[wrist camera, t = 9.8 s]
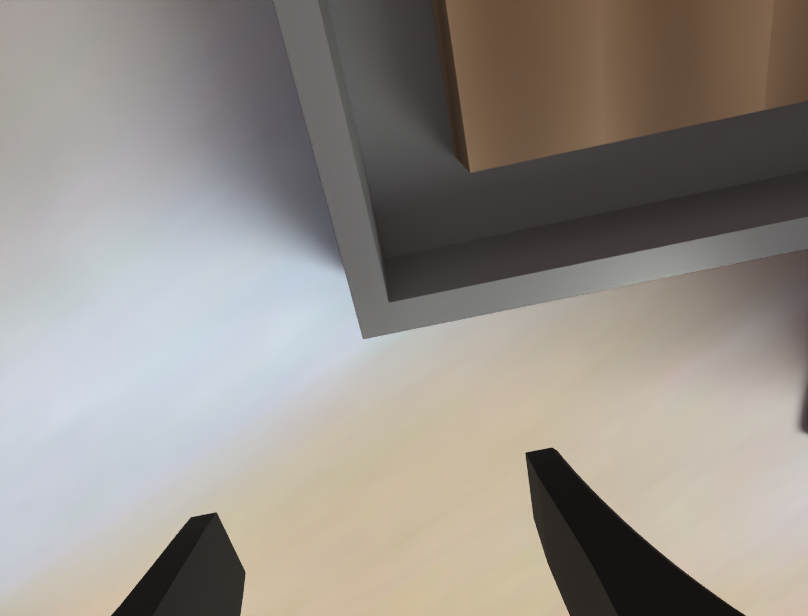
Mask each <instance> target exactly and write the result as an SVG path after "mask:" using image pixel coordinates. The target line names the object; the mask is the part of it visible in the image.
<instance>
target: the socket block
mask: <svg viewBox="0 0 808 616" xmlns="http://www.w3.org/2000/svg"><path fill="white" fill-rule="evenodd" d="M431 3H432V10H433V16H434V23H435V30H436V36H437V43H438V49H439V56H440V62H441V69H442V75H443V82H444V88H445V95H446V101H447V108H448V114H449V121H450V127H451V134H452V140H453V147H454V153H455V157H456V158H457V159H458V160H459V161H460V162H461V163H462V164H463V166H464V167H465V168H466V169H467V170H468V171H469V172H470V173H472V172H476V171H481V170H486V169H490V168H495V167H500V166H505V165H509V164H514V163H519V162H523V161H528V160H533V159H537V158H542V157H547V156H551V155H556V154H561V153H566V152H570V151H575V150H580V149H584V148H589V147H594V146H598V145H603V144H608V143H612V142H617V141H622V140H627V139H631V138H636V137H641V136H645V135H650V134H655V133H659V132H664V131H669V130H673V129H678V128H683V127H688V126H692V125H697V124H702V123H706V122H711V121H716V120H720V119H725V118H730V117H734V116H739V115H744V114H749V113H753V112H758V111H763V110H767V109H772V108H777V107H781V106H786V105H791V104H795V103H800V102H805V101H808V0H431Z"/></svg>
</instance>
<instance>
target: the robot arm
mask: <svg viewBox="0 0 808 616" xmlns="http://www.w3.org/2000/svg"><path fill="white" fill-rule="evenodd" d="M525 454H526V461H527V469H528V477H529V485H530V493H531V501H532V508H533V516H534V521H535V524H536V527H537V530H538V534H539V537H540V540H541V543H542V547H543V550H544V553H545V556H546V559H547V562H548V565H549V567H550V570H551V572H552V574H553V577H554V579H555V581H556V584H557V586H558V589H559V591H560V593H561V596H562V598H563V600H564V603H565V605H566V607H567V610H568V612H569V614H570V616H745V615H744V614H742V613H741V612H739V611H738V610H736V609H735V608H733V607H732V606H730V605H729V604H727V603H726V602H725V601H723V600H722V599H720V598H719V597H718V596H716V595H715V594H713V593H712V592H711V591H709V590H708V589H707V588H705V587H704V586H702V585H701V584H700V583H698V582H697V581H696V580H694V579H693V578H692V577H690V576H689V575H688V574H687V573H685V572H684V571H683V570H681V569H680V568H679V567H677V566H676V565H675V564H674V563H672V562H671V561H670V560H669V559H667V558H666V557H665V556H664V555H663V554H661V553H660V552H659V551H658V550H657V549H655V548H654V547H653V546H652V545H651V544H650V543H648V542H647V541H646V540H645V539H644V538H643V537H641V536H640V535H639V534H638V533H637V532H636V531H635V530H634V529H632V528H631V527H630V526H629V525H628V524H627V523H626V522H625V521H624V520H623V519H622V518H620V517H619V516H618V515H617V514H616V513H615V512H614V511H613V510H612V509H611V508H610V507H609V506H608V505H607V504H606V503H605V502H604V501H603V500H602V499H601V498H600V497H599V496H598V495H597V494H596V493H595V492H594V491H593V490H592V489H591V488H590V487H589V486H588V485H587V484H586V483H585V482H584V481H583V480H582V479H581V478H580V476H579V475H578V474H577V473H576V472H575V471H574V470H573V469H572V468H571V466H570V465H569V464H568V463H567V462H566V461H565V459H564V458H563V457H562V456H561V455H560V453H559V452H558V451H557V450H555V449H554V448H547V449H542V450H537V451H532V452H527V453H525ZM245 573H246V572H245V570H244V568H243V566H242V564H241V562H240V560H239V558H238V556H237V554H236V552H235V550H234V547H233V545H232V543H231V541H230V539H229V537H228V535H227V533H226V531H225V529H224V527H223V525H222V523H221V521H220V518H219V516H218V514H217V512H216V513H211V514H206V515H200V516H195V517H191V518H190V519H189V520H188V522H187V523H186V524H185V525H184V526H183V528H182V529H181V530H180V531H179V533H178V534H177V535H176V536H175V538H174V539H173V540H172V541H171V543H170V544H169V545H168V546H167V548H166V549H165V550H164V551H163V553H162V554H161V555H160V556H159V558H158V559H157V560H156V562H155V563H154V564H153V565H152V567H151V568H150V569H149V570H148V572H147V573H146V574H145V575H144V577H143V578H142V579H141V580H140V581H139V583H138V584H137V585H136V586H135V588H134V589H133V590H132V591H131V593H130V594H129V595H128V596H127V598H126V599H125V600H124V601H123V602H122V604H121V605H120V606H119V607H118V608H117V610H116V611H115V612H114V613H113V614H112V615H111V616H240V613H241V606H242V599H243V591H244V582H245Z"/></svg>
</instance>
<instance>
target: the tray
mask: <svg viewBox="0 0 808 616" xmlns="http://www.w3.org/2000/svg"><path fill="white" fill-rule="evenodd" d="M273 3H274V7H275V11H276V15H277V18H278V22H279V26H280V30H281V33H282V37H283V41H284V45H285V48H286V52H287V56H288V60H289V63H290V67H291V71H292V75H293V78H294V82H295V86H296V90H297V93H298V97H299V101H300V105H301V108H302V112H303V116H304V120H305V123H306V127H307V131H308V135H309V138H310V142H311V146H312V150H313V153H314V157H315V161H316V165H317V168H318V172H319V176H320V180H321V183H322V187H323V191H324V195H325V198H326V202H327V206H328V210H329V213H330V217H331V221H332V225H333V228H334V232H335V236H336V240H337V243H338V247H339V251H340V255H341V258H342V262H343V266H344V270H345V273H346V277H347V281H348V285H349V288H350V292H351V296H352V300H353V303H354V307H355V311H356V315H357V318H358V322H359V326H360V330H361V333H362V337H363V339H367V338H372V337H376V336H381V335H386V334H391V333H396V332H401V331H406V330H411V329H416V328H421V327H426V326H431V325H436V324H440V323H445V322H450V321H455V320H460V319H465V318H470V317H475V316H480V315H485V314H490V313H495V312H500V311H504V310H509V309H514V308H519V307H524V306H529V305H534V304H539V303H544V302H549V301H554V300H559V299H563V298H568V297H573V296H578V295H583V294H588V293H593V292H598V291H603V290H608V289H613V288H618V287H623V286H627V285H632V284H637V283H642V282H647V281H652V280H657V279H662V278H667V277H672V276H677V275H682V274H687V273H691V272H696V271H701V270H706V269H711V268H716V267H721V266H726V265H731V264H736V263H741V262H746V261H751V260H755V259H760V258H765V257H770V256H775V255H780V254H785V253H790V252H795V251H800V250H805V249H808V101H805V102H800V103H795V104H791V105H786V106H781V107H777V108H772V109H767V110H763V111H758V112H753V113H749V114H744V115H739V116H734V117H730V118H725V119H720V120H716V121H711V122H706V123H702V124H697V125H692V126H688V127H683V128H678V129H673V130H669V131H664V132H659V133H655V134H650V135H645V136H641V137H636V138H631V139H627V140H622V141H617V142H612V143H608V144H603V145H598V146H594V147H589V148H584V149H580V150H575V151H570V152H566V153H561V154H556V155H551V156H547V157H542V158H537V159H533V160H528V161H523V162H519V163H514V164H509V165H505V166H500V167H495V168H490V169H486V170H481V171H476V172H472V173H470V172H469V171H468V170H467V169H466V168H465V167H464V166H463V164H462V163H461V162H460V161H459V160H458V159H457V158H456V157H455V153H454V147H453V140H452V134H451V127H450V121H449V114H448V108H447V101H446V95H445V88H444V82H443V75H442V69H441V62H440V56H439V49H438V43H437V36H436V30H435V23H434V16H433V10H432V3H431V0H273Z"/></svg>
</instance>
